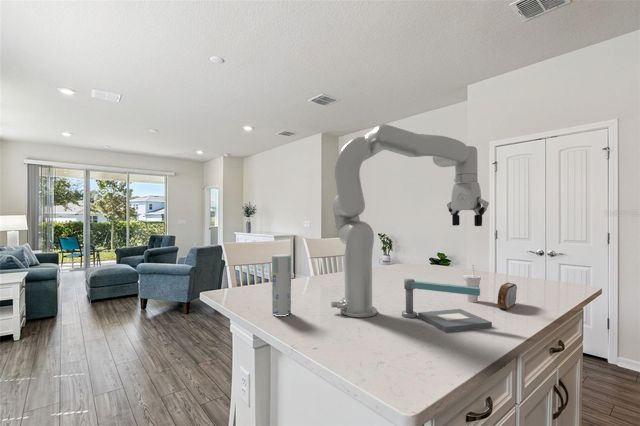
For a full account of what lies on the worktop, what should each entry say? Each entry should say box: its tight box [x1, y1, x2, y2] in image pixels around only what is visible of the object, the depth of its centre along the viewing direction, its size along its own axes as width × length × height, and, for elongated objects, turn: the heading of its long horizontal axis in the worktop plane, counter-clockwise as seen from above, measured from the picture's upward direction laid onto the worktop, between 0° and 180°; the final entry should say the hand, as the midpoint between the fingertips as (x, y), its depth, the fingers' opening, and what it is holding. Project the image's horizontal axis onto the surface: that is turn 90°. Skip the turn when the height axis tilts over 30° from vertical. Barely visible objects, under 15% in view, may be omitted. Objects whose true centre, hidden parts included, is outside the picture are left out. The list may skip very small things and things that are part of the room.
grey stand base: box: [401, 289, 493, 333], centre depth 100 cm, size 20×18×9 cm
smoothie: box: [462, 264, 482, 303], centre depth 122 cm, size 6×6×14 cm
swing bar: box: [403, 278, 481, 297], centre depth 99 cm, size 23×3×3 cm, turn 59°
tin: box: [497, 282, 518, 310], centre depth 114 cm, size 15×3×8 cm, turn 134°
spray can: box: [271, 253, 292, 315], centre depth 107 cm, size 6×6×20 cm
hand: (466, 225), depth 117 cm, fingers open, 9 cm apart
